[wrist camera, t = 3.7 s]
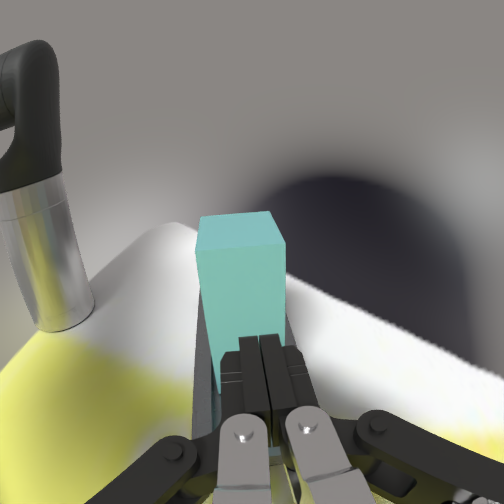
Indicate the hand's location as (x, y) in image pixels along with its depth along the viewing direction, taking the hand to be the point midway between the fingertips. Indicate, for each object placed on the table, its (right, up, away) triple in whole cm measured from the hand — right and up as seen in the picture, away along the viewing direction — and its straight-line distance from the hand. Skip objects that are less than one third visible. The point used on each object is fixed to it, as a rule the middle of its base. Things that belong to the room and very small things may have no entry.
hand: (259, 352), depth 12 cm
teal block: (-1, -6, +13) cm, 15 cm away
